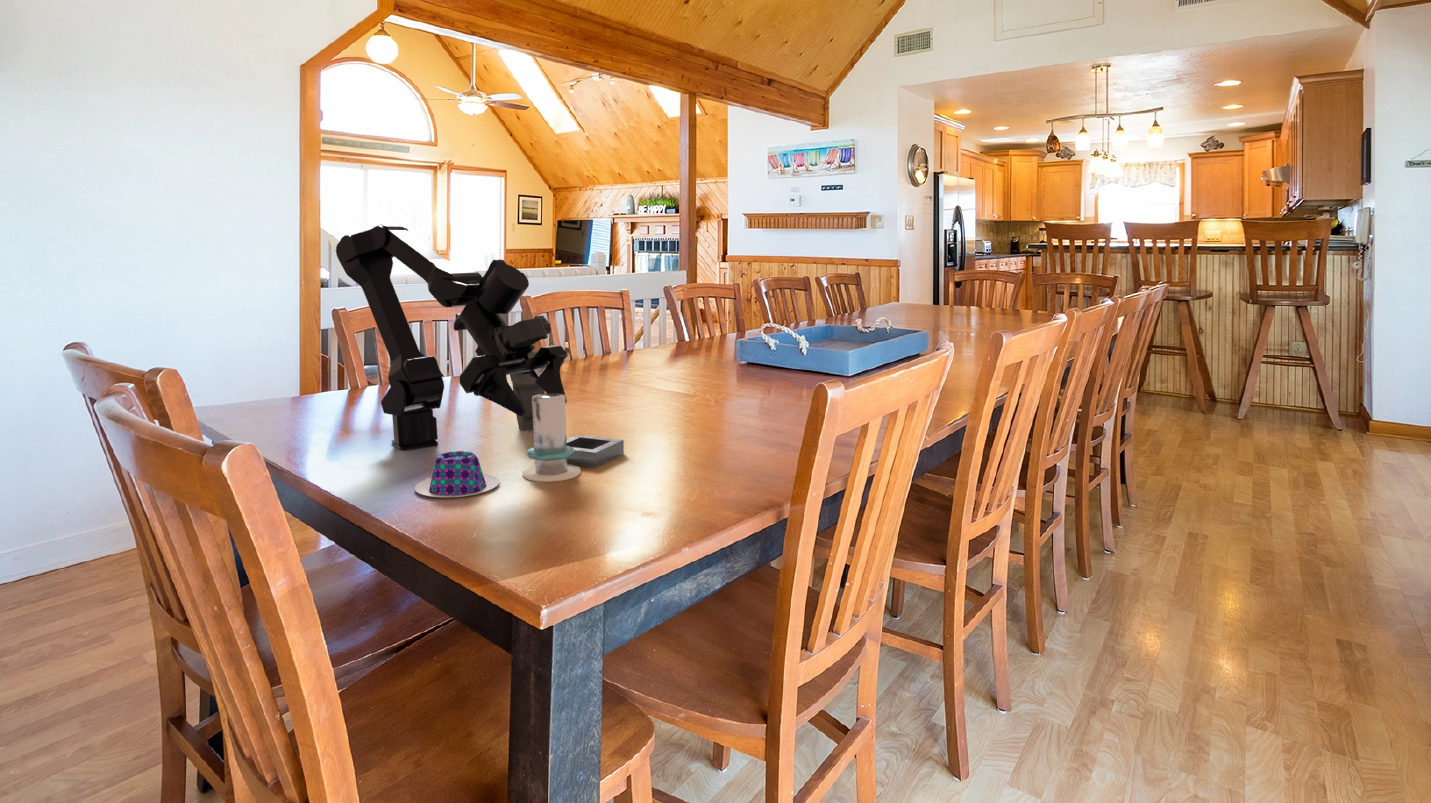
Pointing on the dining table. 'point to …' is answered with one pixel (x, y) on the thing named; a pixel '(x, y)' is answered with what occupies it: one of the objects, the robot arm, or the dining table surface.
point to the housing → (594, 450)
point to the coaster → (571, 473)
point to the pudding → (456, 476)
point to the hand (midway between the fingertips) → (544, 409)
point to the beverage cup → (525, 395)
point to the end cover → (549, 434)
